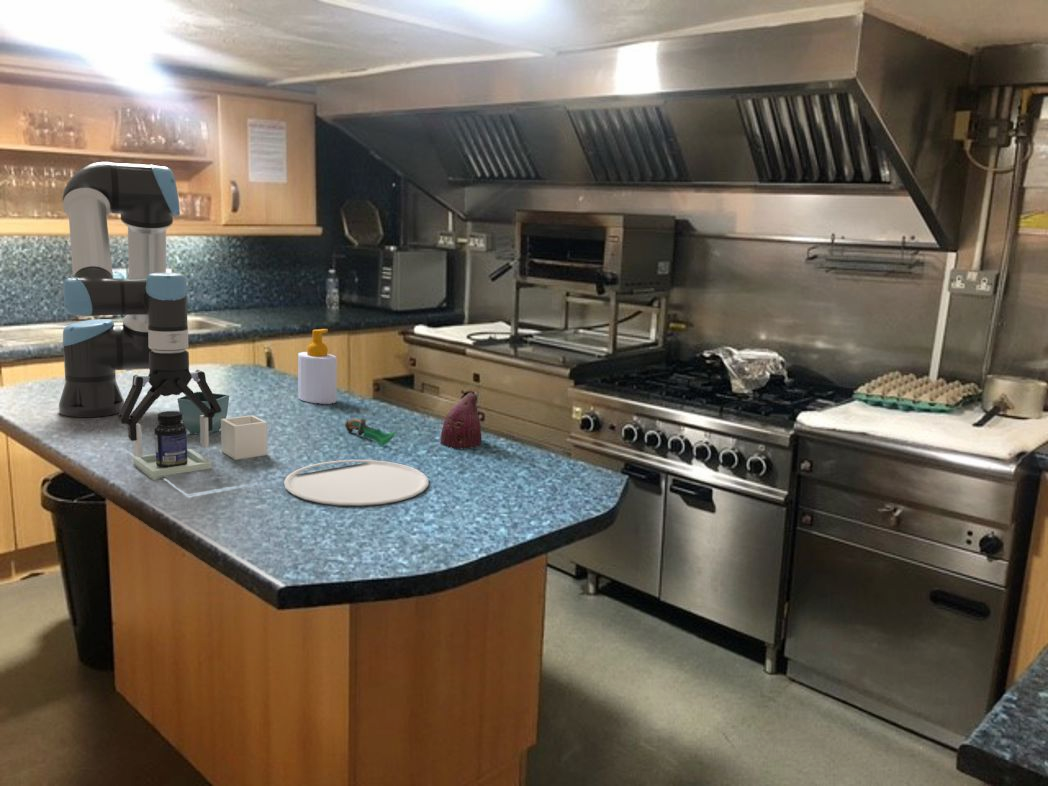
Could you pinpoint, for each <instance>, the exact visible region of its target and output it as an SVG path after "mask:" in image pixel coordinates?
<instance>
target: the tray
mask: <svg viewBox="0 0 1048 786" xmlns="http://www.w3.org/2000/svg"><path fill="white" fill-rule="evenodd" d="M187 460H188V461H187V464H186V465H182V466H175V467H168V468H162V467H158V466H157V465H156V453H151V454H142V457H138V456H136V455H135V456H132V462H133V463H132V464H133V466H134V467H135V466H136V467H135V468H137V469H138V470H139V471H141V472H142V473H143V474H144V475H146V476H147V477H148V478H149V479H151V480H152V481H156V480H162V479H166V477H165V476H171V475H176V474H177V475H178V474H184V473H191V472H196V471H203V470H209V469H213V462H212V461H211V460H209V459H207V458H206V457H205V456H203V455H201V454H199V453H198V452H197V451H195V450H194V449H192V448H187Z"/></svg>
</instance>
